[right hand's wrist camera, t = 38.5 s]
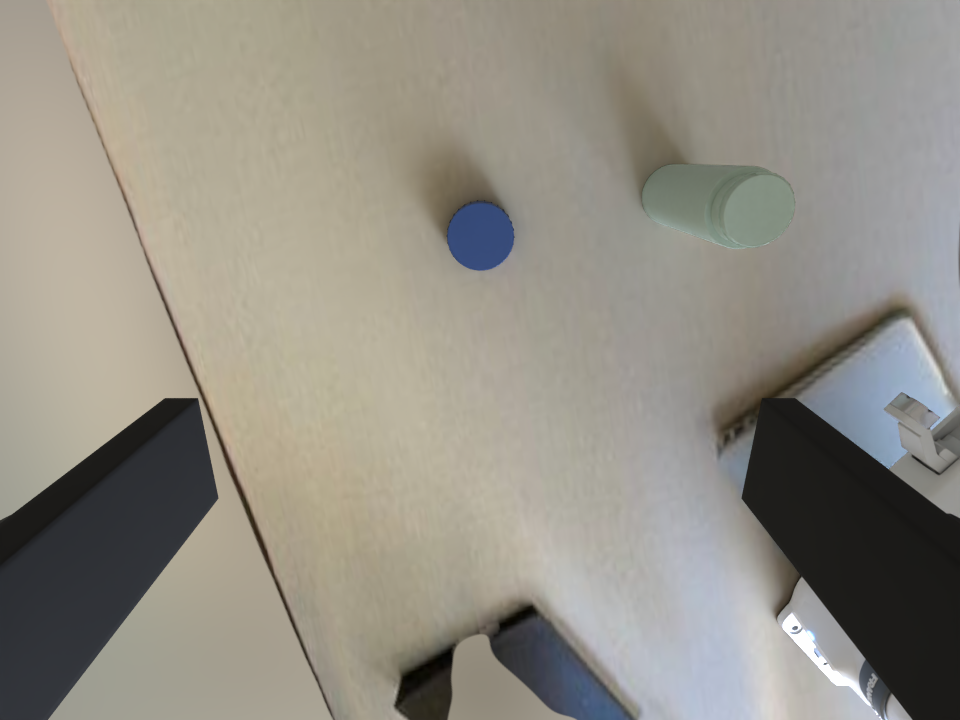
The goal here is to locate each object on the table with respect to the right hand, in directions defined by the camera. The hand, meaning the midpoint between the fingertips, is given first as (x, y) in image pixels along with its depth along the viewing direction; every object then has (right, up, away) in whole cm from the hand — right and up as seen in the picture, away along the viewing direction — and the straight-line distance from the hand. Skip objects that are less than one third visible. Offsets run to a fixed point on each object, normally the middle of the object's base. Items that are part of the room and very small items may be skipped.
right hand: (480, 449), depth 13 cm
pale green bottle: (+18, +17, +37) cm, 45 cm away
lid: (0, +13, +36) cm, 39 cm away
